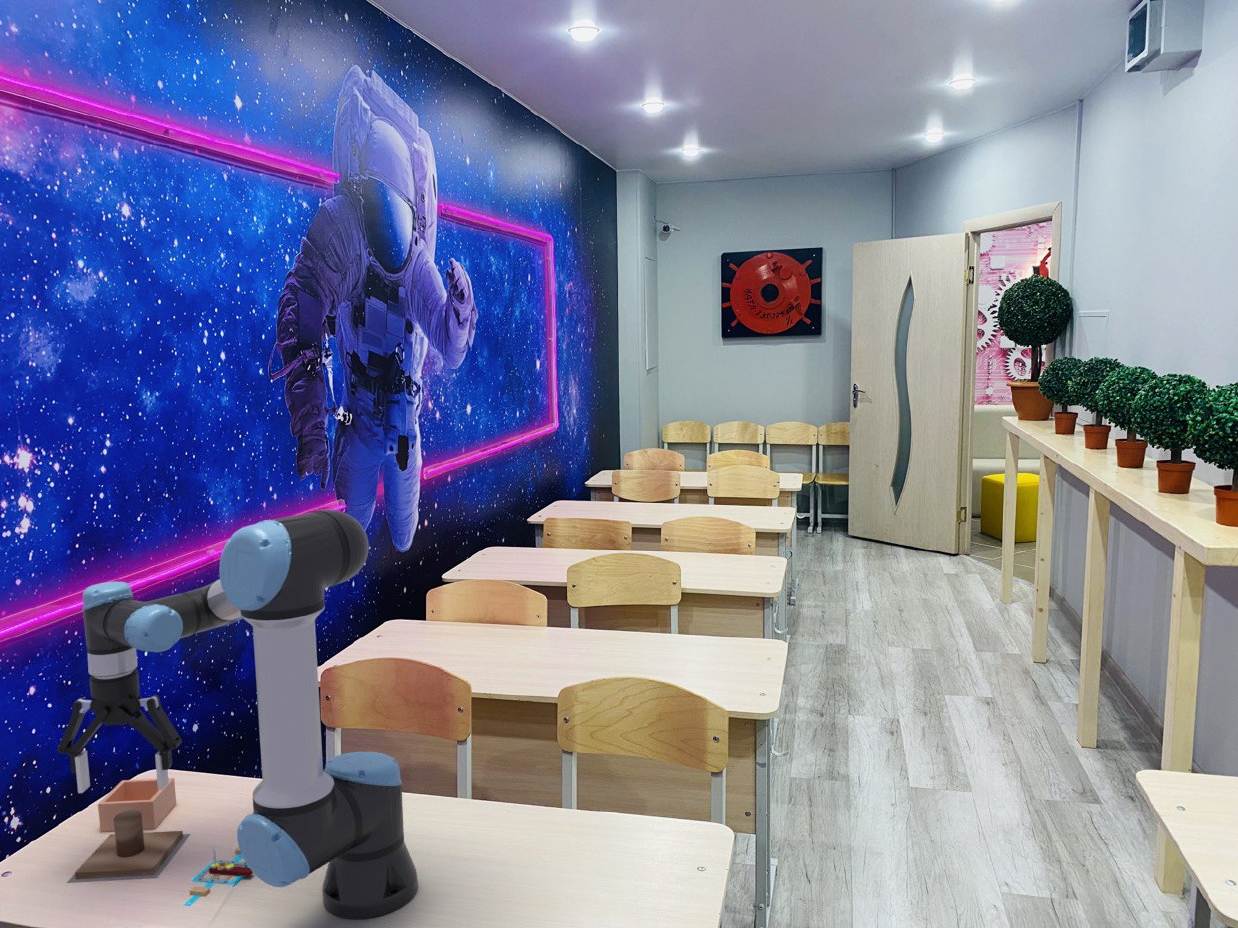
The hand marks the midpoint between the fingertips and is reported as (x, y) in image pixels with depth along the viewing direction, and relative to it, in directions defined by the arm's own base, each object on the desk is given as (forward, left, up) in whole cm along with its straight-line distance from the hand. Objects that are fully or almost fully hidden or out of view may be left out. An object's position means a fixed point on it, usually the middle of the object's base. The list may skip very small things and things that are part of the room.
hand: (123, 788), depth 171 cm
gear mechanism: (-7, -19, -14) cm, 25 cm away
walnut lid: (0, 0, -13) cm, 13 cm away
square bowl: (+15, +5, -13) cm, 20 cm away
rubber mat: (0, 0, -13) cm, 13 cm away
